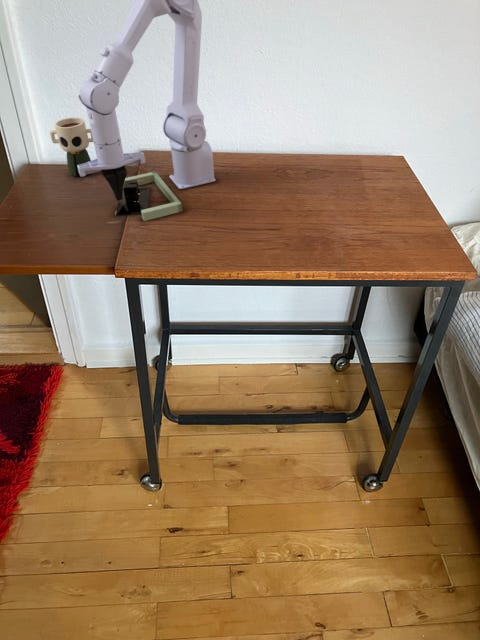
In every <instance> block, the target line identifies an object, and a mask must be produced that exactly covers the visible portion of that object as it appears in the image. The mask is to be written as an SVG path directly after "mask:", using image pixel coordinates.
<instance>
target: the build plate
mask: <svg viewBox="0 0 480 640" xmlns="http://www.w3.org/2000/svg"><path fill="white" fill-rule="evenodd" d="M138 193H140V195H138ZM150 193H151V187H140V185H138V181H137V180H129V181H125V183H124V189H123V193H122V200H118V202H117V207H116V210H115V212H114V215H115V216H116V217H123V216H136V215H142V213H141V210H144V209H148V208H149V202H150ZM134 201H136V202H134ZM137 201H139V202H137Z"/></svg>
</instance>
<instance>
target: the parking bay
mask: <svg viewBox="0 0 480 640" xmlns="http://www.w3.org/2000/svg"><path fill="white" fill-rule="evenodd" d="M150 178H153V179H150ZM143 179H148V180H144V181H139V182H138V186H143V185H147V184H150V183H151V184H152V183H155V185H156V186H157V187H158V188H159V190H160V191H161V192H162V194H163V195H164V196H165V198H166V199H167V200H168V201H169V202H168V203H164V204H161V205H157V206H152V207H148V209H144V210H141V213H142V214H141V218H142V220H143V221H144V222H146V221H149V220H150V221H151V220H154V219H158V218H161V217H166V216H170V215H173V214H179V213H182V212H183V204H182V202H181V201H180V200H179V198H178V197H177V196H176V194H175V193H174V192H173V191H172V190H171V189H170V188H169V186H168V185H167V184H166V182H165V181H164V179H162V177H160V174H158V173H157V172H156V171H151V172H147V173H142V174H137V175H133V176H128V177H126V178H125V181H129V180H143ZM125 181H124V183H125ZM123 189H124V185H123Z"/></svg>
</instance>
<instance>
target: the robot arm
mask: <svg viewBox="0 0 480 640" xmlns="http://www.w3.org/2000/svg"><path fill="white" fill-rule="evenodd" d="M165 15H168V16H169V17H170V19H171V20H172V21H173V22H174V53H173V83H172V84H173V85H172V102H170V103H169V105H167V107H166V114H165V117H164V120H163V122H162V132H163V134H164V135H165V136H166V138H168V139H169V144H170V152H171V159H172V161H171V162H172V168H173V174H170V175H169V179H170V180H171V181H172V182H173V184H174V185H175V186H176V187H177V188H178V189H179V190H185V189H189V188H193V187H197V186H201V185H206V184H209V183H214V182H216V177H215V167H214V166H215V165H214V155H213V150H212V147H211V145H210V143H209V141H207V140H206V137H207V129H206V127H205V120H204V119H205V116H204V113H203V112H202V110H201V108H200V107H199V105H198V93H199V76H200V57H201V40H202V24H203V13H202V9H201V7H200V3H199V0H135V1H134V3H133V5H132V7H131V9H130V12H129V13H128V16H127V18H126V21H125V23H124V25H123V27H122V29H121V32H120V33H119V36H118V38H117V40H116V41H115V42H111V43H108V44H107V45H106V47H102V49H101V50H100V55H101V56H100V59H99V60H98V63H97V64H96V66H95V68H94V70H93V71H91V72H90V74H89V78H88V79H87V80H85V81H83V82H82V84H81V86H80V89H79V92H80V93H79V94H78V99H79V101H80V103H81V104H82V105H83V106H85V107H86V108H85V109H86V112H87V117H88V122H89V129H91V132H92V137H93V142H92V143H93V145H94V150H95V154H96V158H94V159H92V160H91V161H89V162H87V163H84V164H80V165H77V167H78V171H79V172H78V174H79V176H80V178H82V177H86V174H87V175H90V174H95V173H99V172H100V173H101V174H102V177H104V179H105V180H106V181H107V183H108V185H109V186H110V188H111V190H112V192H113V195H114V198H115V200H116V201H119V200H122V193H123V185H124V181H125V178H127V175H128V169H127V168H126V166H127V167H128V166H132V165H136V164H141V165H144V164H146V155H145V154H144V153H143V151H137V152H128V153H124V149H123V144H122V138H121V133H120V128H119V123H118V122H119V121H118V115H117V112H116V108H117V107H118V106H119V103H120V95H119V94H120V90H121V87H122V86H123V83H124V82H125V79H126V78H127V76H128V75H129V72H130V70H131V68H132V66H133V65H134V62H135V61H134V55H133V52H134V51H135V49H136V47H137V45H138V44H139V42H140V41H141V39H142V37H143V36H144V35H145V33H146V31H147V29H148V28H149V26H150V25H151V23H152V22H153V20H154V19H155V18H158V17H161V16H165Z"/></svg>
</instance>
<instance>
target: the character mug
mask: <svg viewBox="0 0 480 640" xmlns="http://www.w3.org/2000/svg"><path fill="white" fill-rule="evenodd" d="M54 124H55V125H54V127H55V129H51V130H49V134H50V135H49V136H50V138H51V142H52V143H53V144H59V147H60V148H61V150H63V151H64V152H66V163H67V170H68V174H69V175H71V176H75V177H77V174H78V173H79V171H78V167H77V165H80V164H84V163H87V162H89V161H92V160H91V156H90V155H89V152H88V150H87V148H88V147H89V146H90V143H94V142H93V137H92V132H91V128H87V126H86V121H85V120H84V119H83V118H82V117H74V116H73V117H72V116H71V117H65V118H62V119H59V120H57V121H56V122H54ZM88 134H90V137H89V135H88ZM55 135H56V136H57V138H56V136H55ZM86 175H88V174H86Z"/></svg>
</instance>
